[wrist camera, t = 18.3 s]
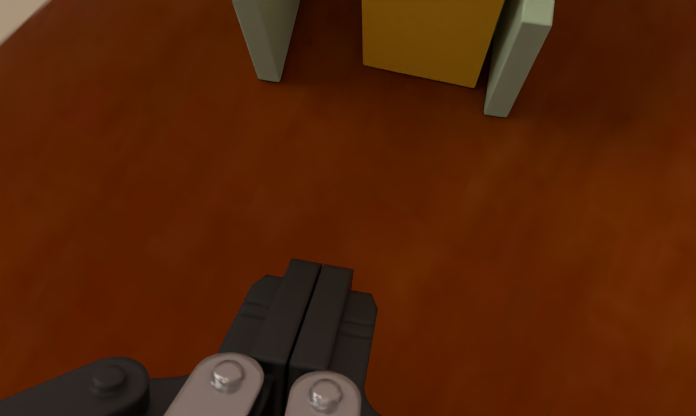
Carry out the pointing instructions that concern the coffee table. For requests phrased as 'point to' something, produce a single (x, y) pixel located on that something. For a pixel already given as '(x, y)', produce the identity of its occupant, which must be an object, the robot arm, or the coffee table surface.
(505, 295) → the coffee table surface
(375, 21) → the yellow rectangular block
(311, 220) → the coffee table surface
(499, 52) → the bracket
